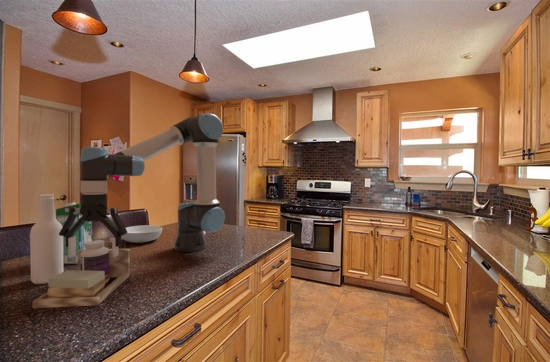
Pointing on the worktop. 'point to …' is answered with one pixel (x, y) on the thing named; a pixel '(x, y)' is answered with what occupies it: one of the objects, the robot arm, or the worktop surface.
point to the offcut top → (76, 279)
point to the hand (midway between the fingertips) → (93, 256)
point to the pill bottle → (95, 257)
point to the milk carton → (81, 235)
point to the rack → (117, 268)
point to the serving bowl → (142, 233)
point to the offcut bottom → (82, 296)
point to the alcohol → (46, 243)
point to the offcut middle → (75, 290)
